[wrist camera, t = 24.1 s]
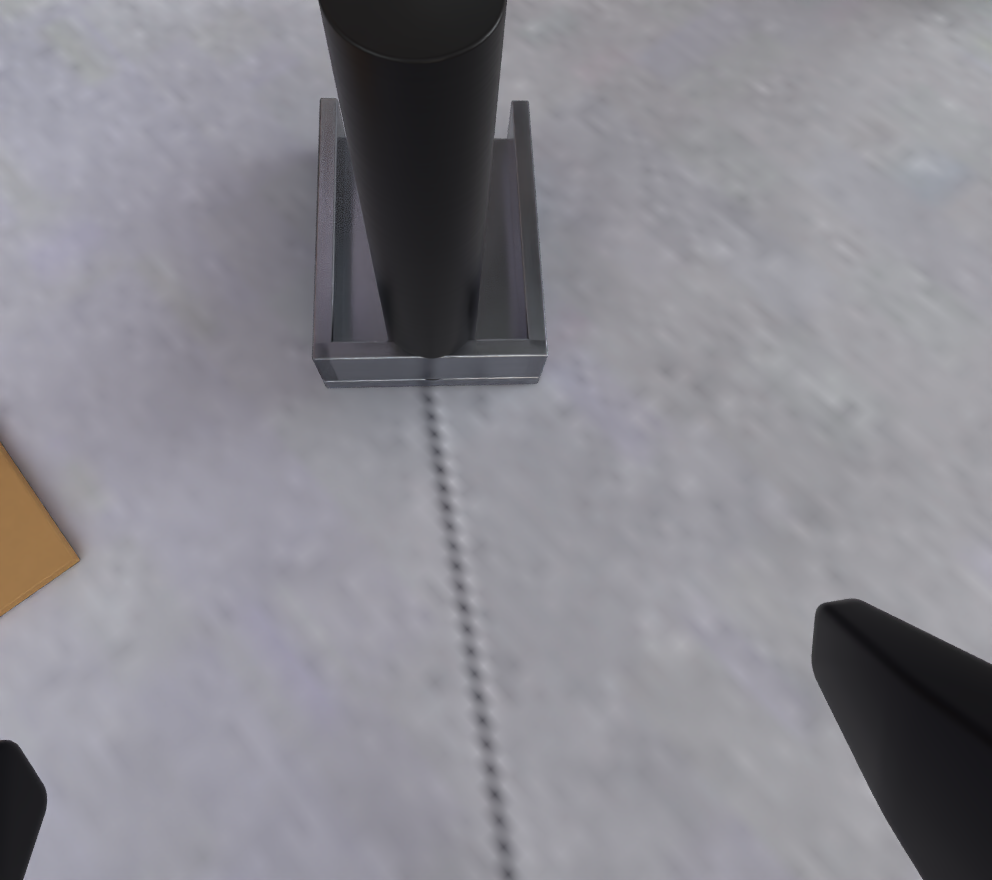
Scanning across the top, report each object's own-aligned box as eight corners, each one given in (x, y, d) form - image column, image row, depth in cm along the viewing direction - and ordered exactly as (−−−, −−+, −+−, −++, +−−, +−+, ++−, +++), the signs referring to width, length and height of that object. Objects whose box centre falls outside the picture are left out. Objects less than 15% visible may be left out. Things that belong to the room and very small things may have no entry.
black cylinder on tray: (538, 384, 22) (655, 66, 10) (326, 388, 21) (157, 56, 9) (521, 149, 25) (596, -343, 12) (331, 148, 24) (206, -372, 12)
